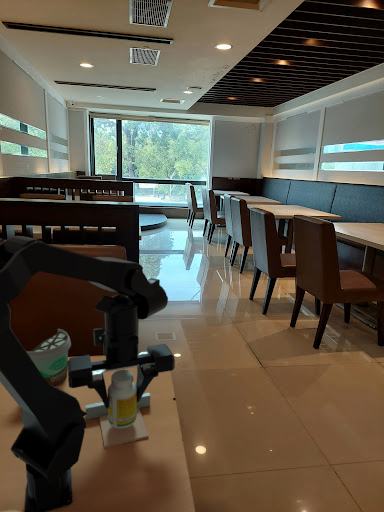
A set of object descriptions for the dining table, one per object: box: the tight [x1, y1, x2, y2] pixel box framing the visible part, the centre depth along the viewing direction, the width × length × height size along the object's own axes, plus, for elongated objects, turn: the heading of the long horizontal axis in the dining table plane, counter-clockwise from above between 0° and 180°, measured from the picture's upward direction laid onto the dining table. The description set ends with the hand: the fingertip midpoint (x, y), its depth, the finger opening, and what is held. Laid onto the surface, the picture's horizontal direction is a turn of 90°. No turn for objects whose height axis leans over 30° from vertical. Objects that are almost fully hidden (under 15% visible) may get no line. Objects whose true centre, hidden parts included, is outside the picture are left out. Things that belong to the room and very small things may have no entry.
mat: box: [99, 408, 149, 449], centre depth 66 cm, size 8×8×1 cm
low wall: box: [84, 392, 151, 420], centre depth 70 cm, size 1×13×2 cm, turn 111°
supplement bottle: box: [107, 369, 137, 429], centre depth 64 cm, size 5×5×10 cm
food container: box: [26, 328, 72, 387], centre depth 79 cm, size 12×6×10 cm, turn 164°
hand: (122, 403), depth 65 cm, fingers closed on supplement bottle, 5 cm apart
